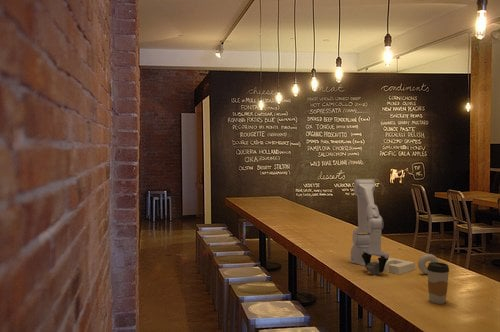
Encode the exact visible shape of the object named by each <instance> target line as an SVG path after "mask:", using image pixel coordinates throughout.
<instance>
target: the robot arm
mask: <svg viewBox="0 0 500 332" xmlns="http://www.w3.org/2000/svg"><path fill="white" fill-rule="evenodd" d="M375 189H376V181H375V179H373V178H372V179H358V178H357V179H355V180H354V181H353V195H355V196H356V198H357V222H358V223H357V228H355V229H354V230H353V231H352V238H351V239H352V246H351V248H350V260H349V263H351V264H357V265H360V266H366V265H368V263H371V262H372V261H371V259H372V256H376V257H378V258H377V261H379V272H382V273H383V272H384V271H383V270H384V267H385V264H386V262H387V260H388V258H390V254H389V253H386V252H385V251H382V230H384V226H385V225H384V219H383V217H382V215H380V211H379V208H378V205H377V204H375V199H374V192H375ZM365 268H366V267H365ZM366 270H367V268H366Z"/></svg>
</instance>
